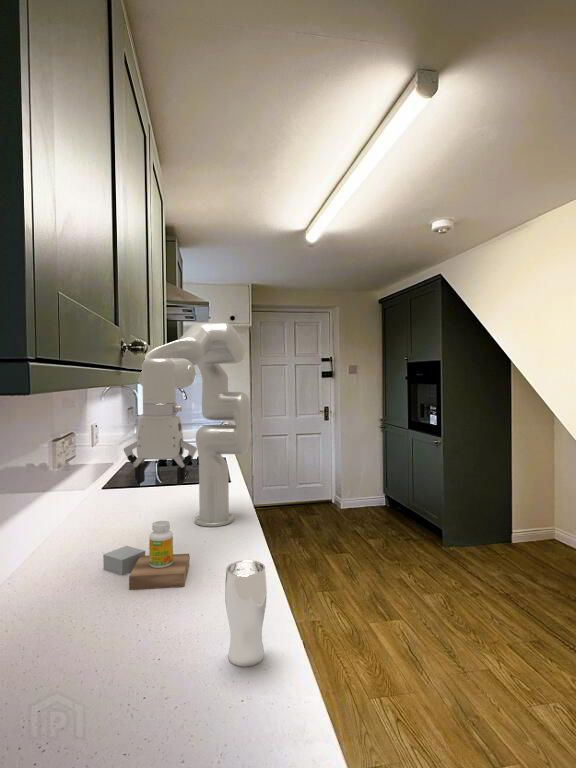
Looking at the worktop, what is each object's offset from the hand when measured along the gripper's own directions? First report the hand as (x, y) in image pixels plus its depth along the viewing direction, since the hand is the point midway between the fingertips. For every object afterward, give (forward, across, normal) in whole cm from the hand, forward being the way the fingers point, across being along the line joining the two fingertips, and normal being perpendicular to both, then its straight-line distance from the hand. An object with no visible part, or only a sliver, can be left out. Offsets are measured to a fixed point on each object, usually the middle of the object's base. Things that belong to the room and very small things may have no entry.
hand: (160, 482), depth 110 cm
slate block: (+23, +11, -4) cm, 26 cm away
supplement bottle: (+19, 0, 0) cm, 19 cm away
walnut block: (+22, 0, +1) cm, 22 cm away
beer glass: (+22, -25, +31) cm, 45 cm away
